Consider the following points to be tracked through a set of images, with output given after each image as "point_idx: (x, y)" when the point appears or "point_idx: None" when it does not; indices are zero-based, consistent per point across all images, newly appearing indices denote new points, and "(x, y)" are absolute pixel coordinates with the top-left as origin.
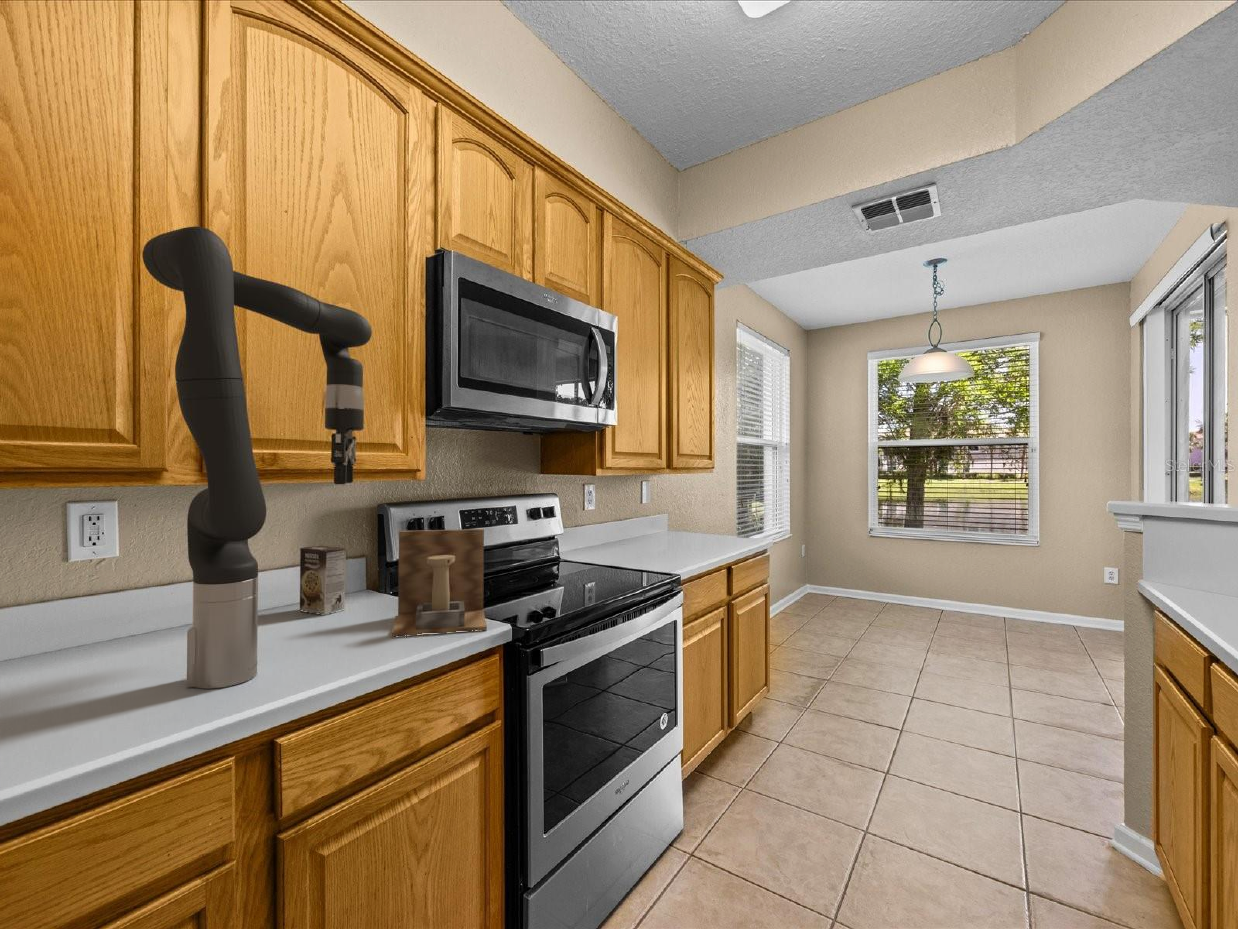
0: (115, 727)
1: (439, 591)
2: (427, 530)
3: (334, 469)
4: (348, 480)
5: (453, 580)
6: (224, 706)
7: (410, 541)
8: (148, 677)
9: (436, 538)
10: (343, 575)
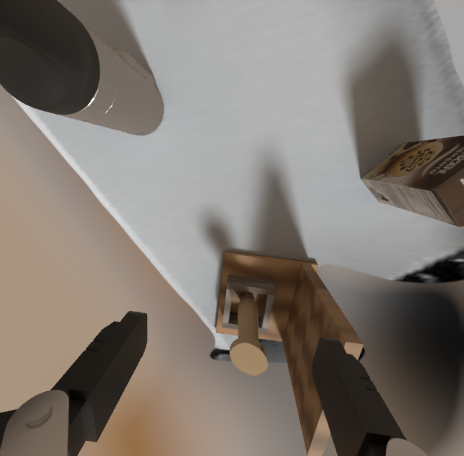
0: None
1: (238, 321)
2: None
3: (84, 370)
4: (317, 366)
5: (297, 343)
6: (71, 124)
7: None
8: (165, 17)
9: None
10: (413, 210)
